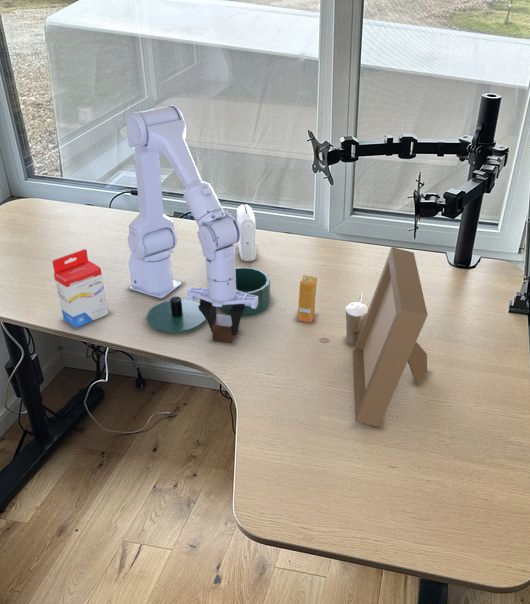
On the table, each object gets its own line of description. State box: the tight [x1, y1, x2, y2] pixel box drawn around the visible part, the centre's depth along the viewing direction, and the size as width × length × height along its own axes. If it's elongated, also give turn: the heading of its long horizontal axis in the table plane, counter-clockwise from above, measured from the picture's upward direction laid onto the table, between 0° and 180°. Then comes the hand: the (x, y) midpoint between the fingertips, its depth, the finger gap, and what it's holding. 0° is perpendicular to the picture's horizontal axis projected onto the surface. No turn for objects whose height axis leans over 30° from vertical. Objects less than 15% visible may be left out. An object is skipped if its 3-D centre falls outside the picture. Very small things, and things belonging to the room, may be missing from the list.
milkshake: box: [345, 293, 369, 346], centre depth 137 cm, size 4×5×10 cm
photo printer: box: [236, 204, 257, 262], centre depth 169 cm, size 10×4×12 cm, turn 10°
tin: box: [216, 266, 271, 318], centre depth 150 cm, size 12×12×6 cm
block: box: [211, 313, 237, 344], centre depth 139 cm, size 4×4×4 cm
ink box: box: [52, 248, 109, 329], centre depth 141 cm, size 8×5×15 cm, turn 137°
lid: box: [146, 296, 207, 334], centre depth 144 cm, size 13×13×5 cm
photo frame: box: [352, 246, 428, 428], centre depth 120 cm, size 15×22×25 cm
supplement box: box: [297, 274, 318, 323], centre depth 144 cm, size 3×3×10 cm
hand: (224, 331), depth 139 cm, fingers closed on block, 4 cm apart
